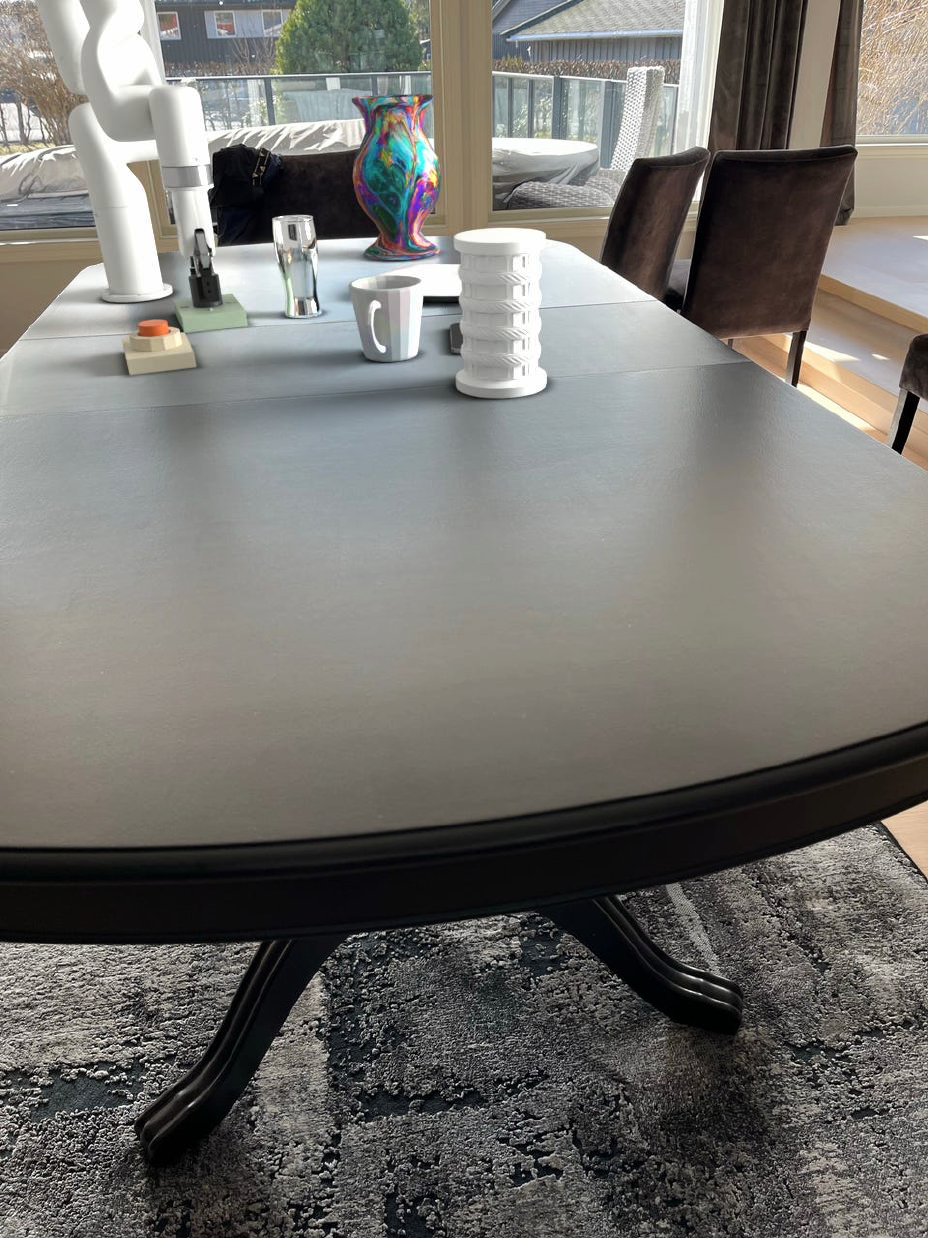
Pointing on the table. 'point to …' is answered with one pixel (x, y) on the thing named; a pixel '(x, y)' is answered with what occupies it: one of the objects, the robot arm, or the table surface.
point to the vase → (396, 174)
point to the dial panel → (210, 315)
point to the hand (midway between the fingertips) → (206, 296)
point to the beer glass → (297, 263)
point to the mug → (388, 315)
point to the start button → (153, 328)
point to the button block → (158, 352)
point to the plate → (434, 280)
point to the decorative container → (500, 312)
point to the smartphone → (456, 338)
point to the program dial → (196, 298)
